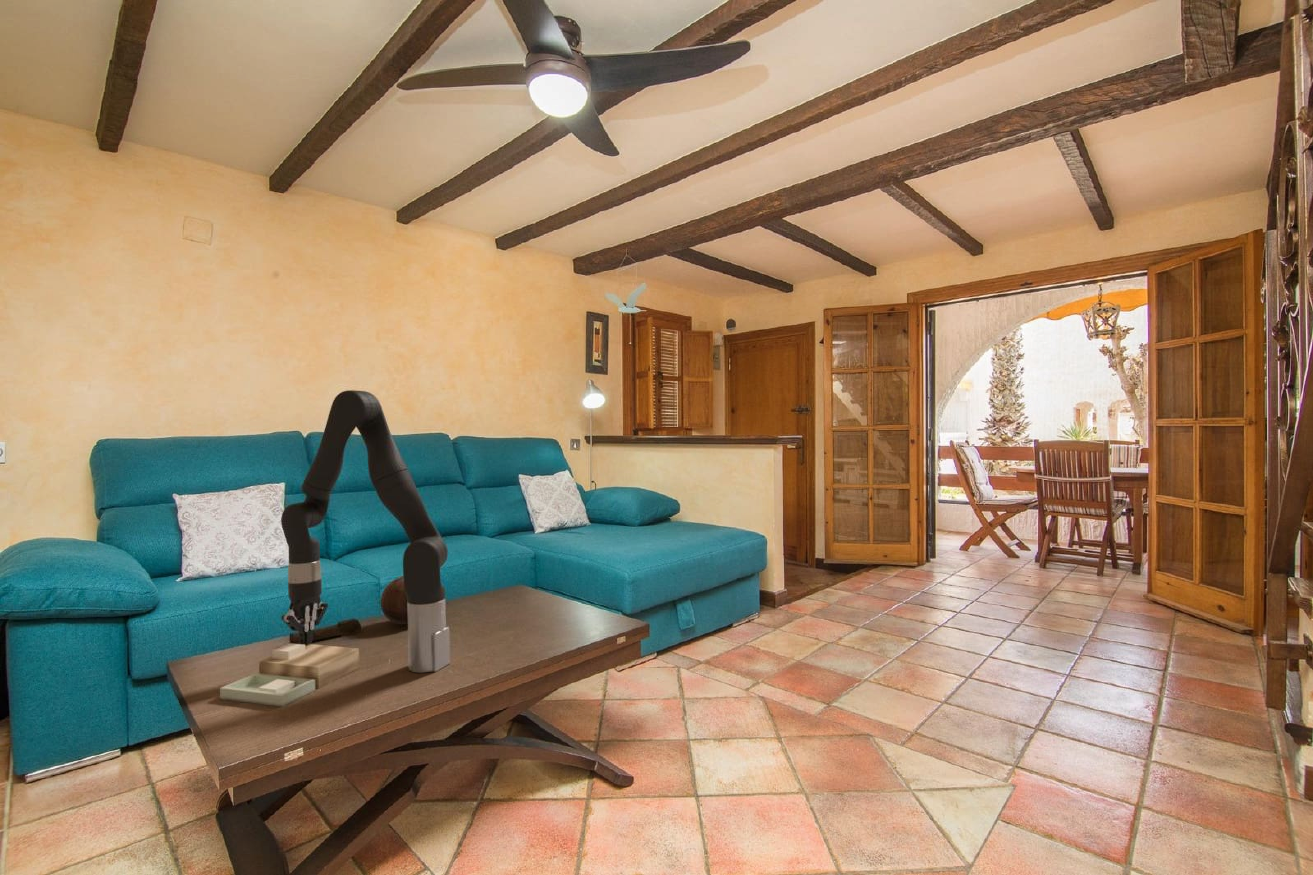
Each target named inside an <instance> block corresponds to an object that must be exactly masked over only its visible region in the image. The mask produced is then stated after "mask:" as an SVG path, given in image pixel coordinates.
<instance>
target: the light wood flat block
mask: <svg viewBox="0 0 1313 875" xmlns="http://www.w3.org/2000/svg"><path fill="white" fill-rule="evenodd" d="M358 669H360V649H359V648H357V647H355V648H354V647H345V646H336V645H335V646H334V645H323V644H315V643H314V644H313V643H312V644H310V645H308V646H305V653H303V654H301V655H299V656H296V657H294V658H292V659H289V660H286V659H277V658H273V655H270V656H269V657H266V658H264V659H261V660H259V661H258V673H260V674H269V675H278V676H287V677H296V678H305V679H314V680H315V689H320V688H323V687H325V686H327V685H328V684H330V683H332V682H334V681H337V680H338V679H340V678H342V677H344V676H347V675H348V674H350V673H352V672H354V671H356V670H358Z"/></svg>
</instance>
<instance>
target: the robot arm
mask: <svg viewBox="0 0 1313 875" xmlns="http://www.w3.org/2000/svg"><path fill="white" fill-rule="evenodd" d="M355 429H357V430H358V432H359V434H360V435H361V438H362V440H363V442H364V444H365V447H366V452H367V465H368V466H367V468H368V475H369V478H370V481H371V484H372V486H373V489H374V491H375V493H376V495H377V496H378V498H379V500H380V502H381V503H382V505H383V506H384V507H385V508H386V509H387V511H388V512H389V513H390V514H391V515H392V516H393V517H394V518H395V519H396V520H397V521H398V522H399V524H400V525H401V526H402V528H403V531H404V532H405V535H406V537H407V539H408V542H409V544H408V545H407V546H406V548H405V550H404V553H403V556H402V574H403V575H402V577H404V589H405V592H406V595H407V607H408V624H407V640H408V641H407V643H408V644H407V645H408V646H407V648H408V649H407V650H408V651H407V652H408V670H409V671H410V672H413V673H429V672H430V673H431V672H439V671H440V670H441V669H443V668H444V667H446V666H447V665H449V664H450V663H451V653H450V652H451V648H450V646H451V645H450V642H451V640H450V639H451V637H450V627H449V626H447V620H446V618H447V617H446V588H445V587H444V586H443V585H442V580H441V568H442V567H443V566H444V564H445V563H446V562H447V559H448V555H449V554H448V553H449V552H448V547H447V544H446V542H445V541H444V539H443V537H442V536H441V534H440V532H439V530H438V529H437V528H436V526H435V524H434V523H433V521H432V519H431V517H430V515H429V513H428V511H427V509H426V507H425V504H424V502H423V499H422V497H421V495H420V492H419V490H418V488H417V487H416V486H417V485H416V484H415V482H414V480H413V478H412V475H411V472H410V471H409V469H408V467H407V466H408V465H406V463H405V461H404V459H403V457H402V454H401V453H400V449H399V448H398V445H397V444H396V442H395V440H394V437H393V436H392V433H391V431H390V429H389V425H388V422H387V420H386V416H385V413H384V411H383V407H382V405H381V402H380V400H379V399H378V398H377V397H376V395H374V394H373V393H371V392H368V391H365V390H353V389H352V390H343V391H341V392H340V393H338V394H337V395H336V396H335V397H334V399H333V401H332V403H331V406H330V409H329V413H328V417H327V420H326V423H325V428H324V430H323V434H322V437H321V441H320V443H319V447H318V449H317V452H316V455H315V456H314V458H313V462H312V463H311V465H310V468H309V470H308V471H307V474H306V475H305V477H304V480H303V482H302V485H301V492H302V493H303V494H304V495H305V498H304V500H303V501H302V502H295V503H291V504H289V505H287V506H286V507H285V508H284V509H283V511H282V513H281V519H280V522H281V528H282V531H283V535H284V538H285V541H286V544H287V546H288V569H287V590H288V591H287V592H288V594H287V595H288V598H289V601H290V604H289V611H288V612H287V613H286V614H282V615H281V617H280V618H281V620H282V621H283V623H285V625H286V626H287V627H288V628H289V629H290V630H291V631H292V632H297V633H299V643H300V644H302V645H305V646H308V645H310V644H313V641H312V640H313V630H315V629H314V628H315V627H316V626H319V625H320V624H321V621H322V619H323V618H324V615H325V614H326V611H327V609H328V607H329V604H328V603H325V602H323V601H322V599H321V597H320V596H322V593H323V591H322V567H321V566H322V565H321V551H320V541H319V539H318V538H315V537H312V536H311V535H310V532H309V531H310V530H309V529H312V528H315V527H317V526H319V525H320V524H321V523H322V522H323V521H324V519H325V517H326V515H327V513H328V509H329V505H330V499H331V493H332V492H333V489H334V488H335V485H336V484H337V483H338V482H337V481H338V480H339V477H340V475H341V472H342V469H343V464H344V454H345V449H346V445H347V443H348V440H349V438H350V437H351V435H352V433H353V432H354V430H355Z"/></svg>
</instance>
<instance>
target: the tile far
mask: <svg viewBox="0 0 1313 875" xmlns="http://www.w3.org/2000/svg"><path fill="white" fill-rule="evenodd" d="M303 653H305V645H302V644H292V643H290V642H289V643H288V644H284V645H281V646H279V647H277V648H274V649H272V656H273V658H277V659H286V660H289V659H292V658H294V657H296V656H299V655H301V654H303Z"/></svg>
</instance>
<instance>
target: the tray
mask: <svg viewBox="0 0 1313 875" xmlns="http://www.w3.org/2000/svg"><path fill="white" fill-rule="evenodd" d="M277 679H281V680H290V681H294V685H295V688H293V689H290V690H288V691H286V692H284V693H275V692H267V691H259V687H261V686H263V685H266V684H268V683H270V682H272V681H274V680H277ZM314 691H316V688H315V680H314V679H305V678H296V677H287V676H278V675H269V674H260V673H259V672H255V673H252V674H250V675H247V676H245V677H243V678H240V679H238V680H236V681H233V682H231V683H229V684H226V685H224V686H221V687H220V688H219V699H221V700H227V701H233V702H244V703H250V704H258V705H264V706H273V707H280V708H284V707H285V706H287V705H289V704H291V703H292V702H296V701H297V700H299V699H301V698H303V697H305V696H307V695H309V694H310V693H312V692H314Z"/></svg>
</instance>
